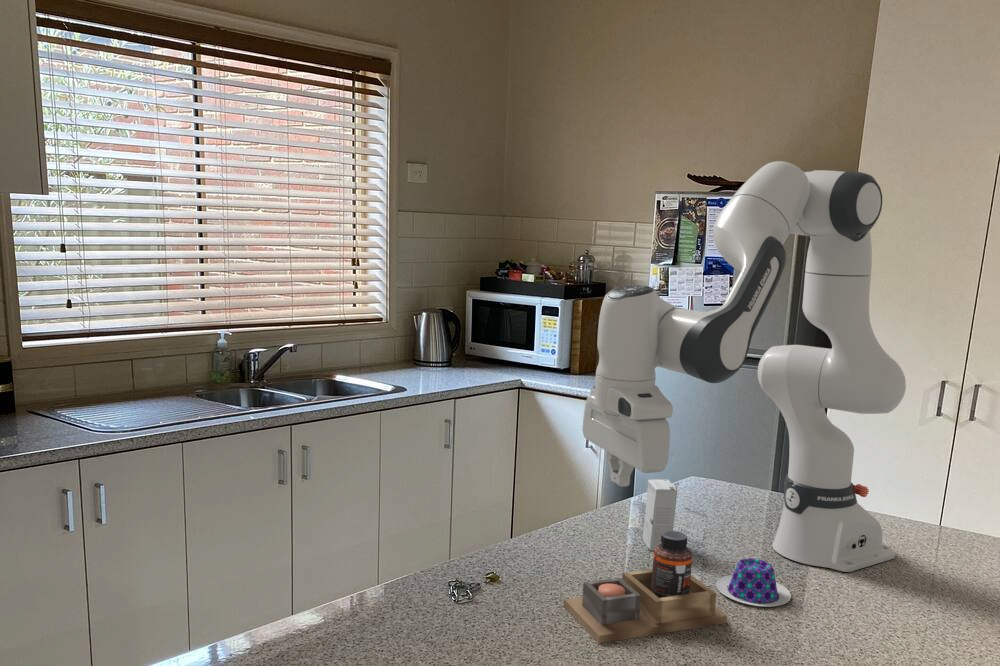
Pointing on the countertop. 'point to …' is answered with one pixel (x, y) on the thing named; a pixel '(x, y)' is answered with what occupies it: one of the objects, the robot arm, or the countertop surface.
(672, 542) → the supplement bottle
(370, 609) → the countertop surface
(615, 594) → the button
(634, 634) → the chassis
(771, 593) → the pudding
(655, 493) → the skincare box
